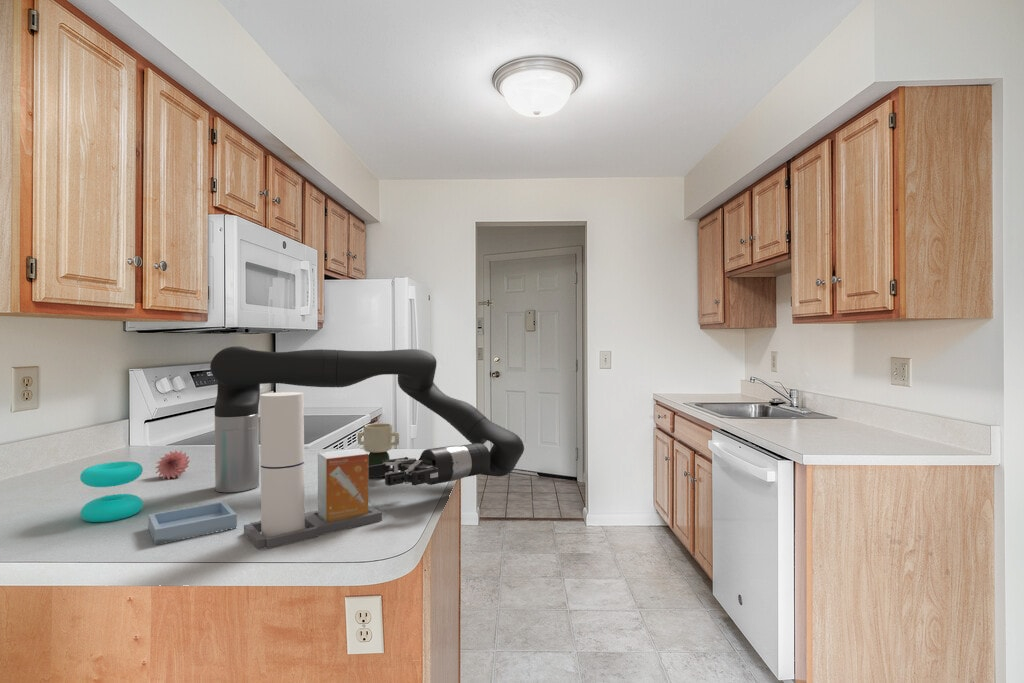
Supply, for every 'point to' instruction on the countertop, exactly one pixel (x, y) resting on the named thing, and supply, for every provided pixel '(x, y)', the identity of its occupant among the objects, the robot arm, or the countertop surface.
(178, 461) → the flower
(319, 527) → the holder
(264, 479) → the cylindrical container
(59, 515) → the countertop surface
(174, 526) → the tray
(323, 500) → the small box
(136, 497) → the donuts
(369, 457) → the character mug
